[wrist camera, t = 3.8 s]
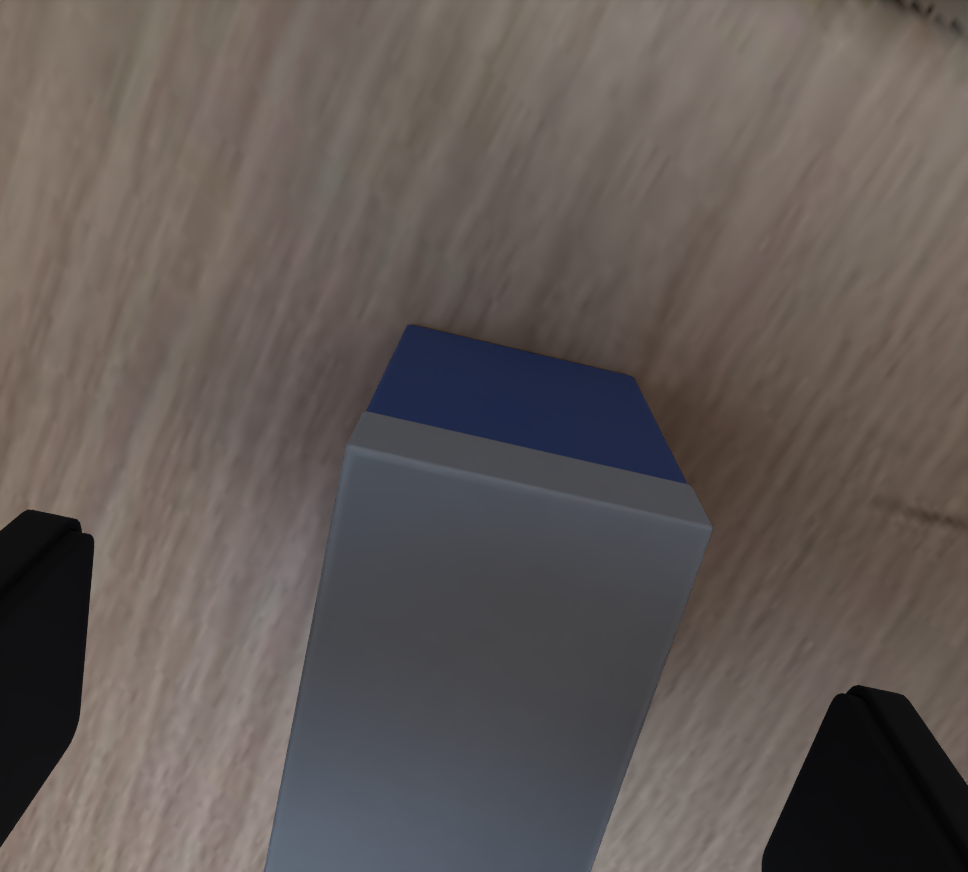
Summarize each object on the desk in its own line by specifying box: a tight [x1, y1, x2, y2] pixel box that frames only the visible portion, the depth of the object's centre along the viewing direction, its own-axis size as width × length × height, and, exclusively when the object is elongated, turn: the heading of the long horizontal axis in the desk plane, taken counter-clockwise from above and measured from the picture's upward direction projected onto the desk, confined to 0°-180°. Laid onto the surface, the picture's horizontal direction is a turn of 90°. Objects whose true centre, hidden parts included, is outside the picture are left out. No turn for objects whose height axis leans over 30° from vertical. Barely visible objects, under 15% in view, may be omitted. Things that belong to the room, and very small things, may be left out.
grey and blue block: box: [264, 325, 713, 872], centre depth 13 cm, size 4×7×6 cm, turn 167°
